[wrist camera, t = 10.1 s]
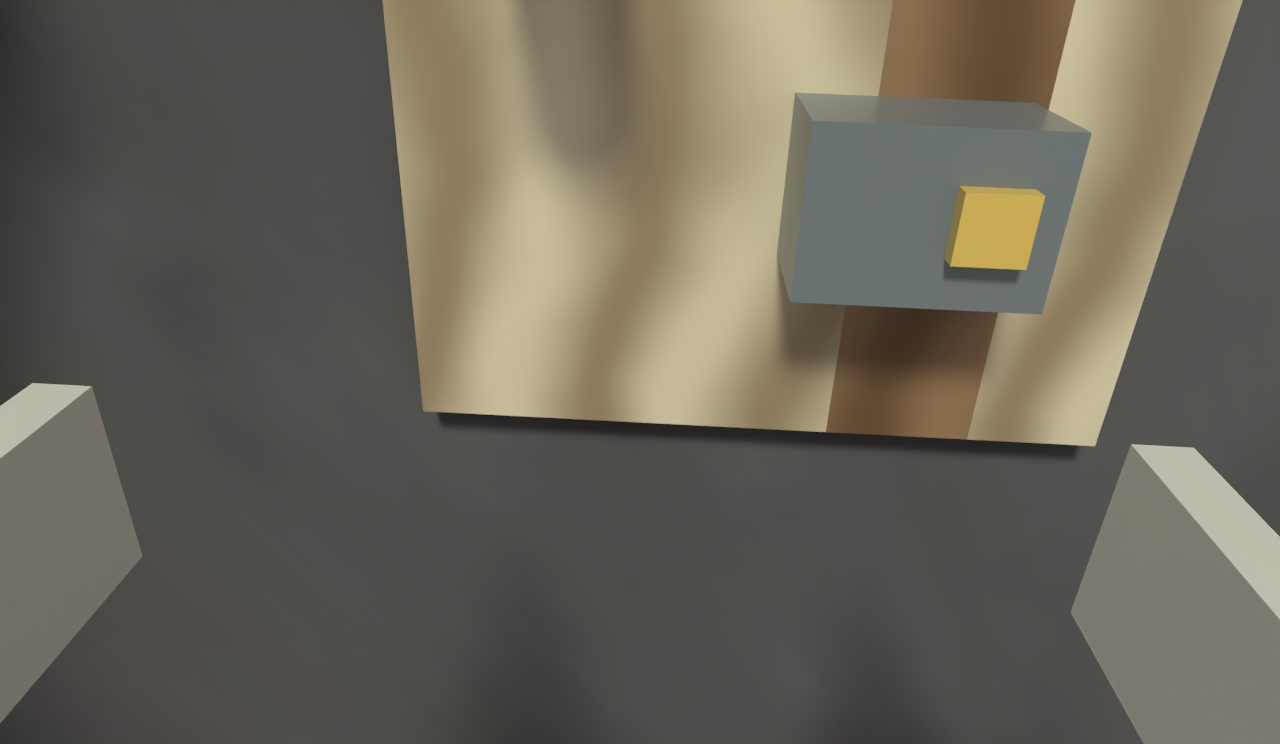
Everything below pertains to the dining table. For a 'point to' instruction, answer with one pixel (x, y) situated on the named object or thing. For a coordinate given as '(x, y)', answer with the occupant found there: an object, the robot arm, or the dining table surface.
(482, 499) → the dining table surface
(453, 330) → the board
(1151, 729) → the robot arm
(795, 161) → the block
